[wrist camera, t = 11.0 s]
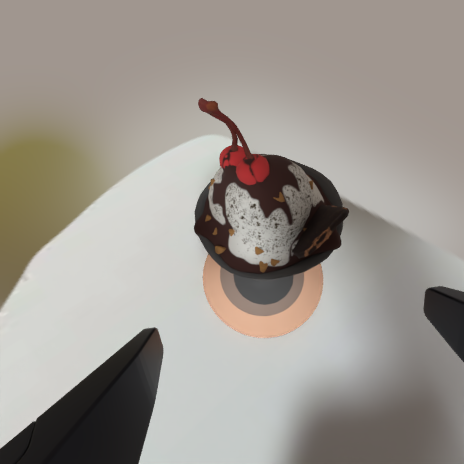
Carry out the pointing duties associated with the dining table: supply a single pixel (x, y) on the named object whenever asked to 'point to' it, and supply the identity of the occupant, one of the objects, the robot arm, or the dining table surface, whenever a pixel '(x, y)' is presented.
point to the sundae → (266, 217)
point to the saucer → (257, 315)
